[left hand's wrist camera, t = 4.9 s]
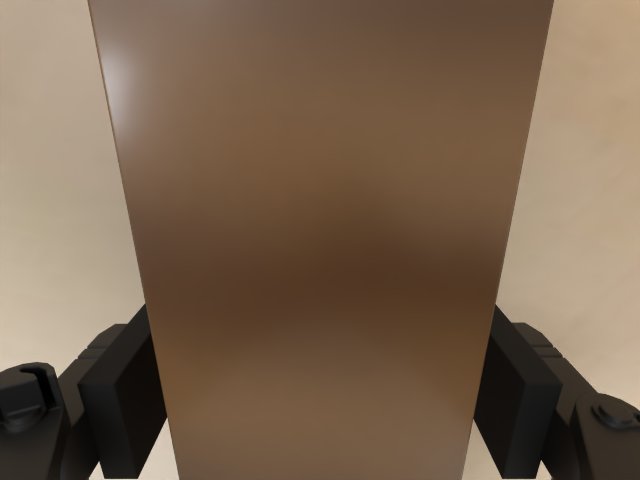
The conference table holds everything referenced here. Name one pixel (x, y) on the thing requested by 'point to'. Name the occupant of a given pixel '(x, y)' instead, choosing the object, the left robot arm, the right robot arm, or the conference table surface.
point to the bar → (320, 220)
